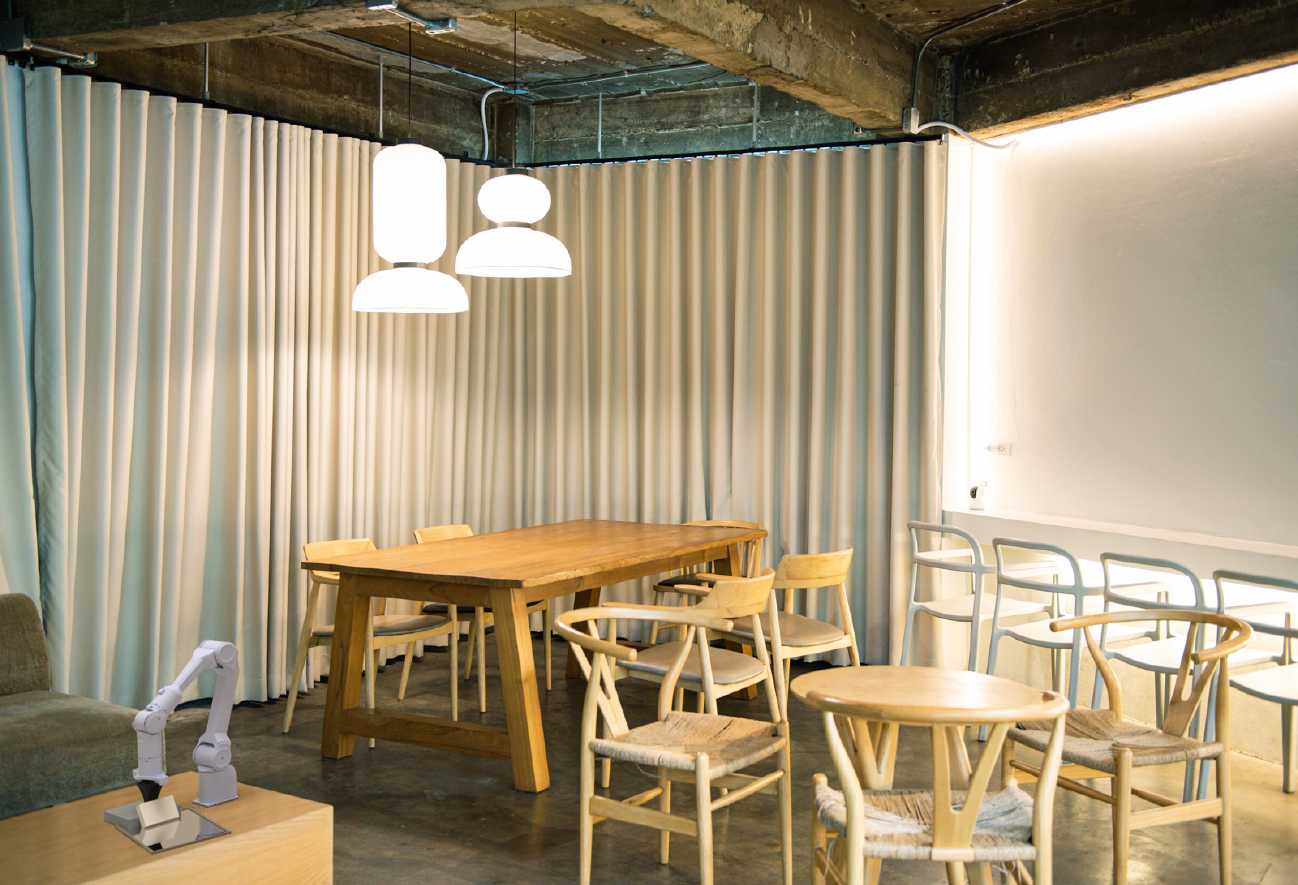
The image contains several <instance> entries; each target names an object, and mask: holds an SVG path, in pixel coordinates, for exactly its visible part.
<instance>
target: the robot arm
mask: <svg viewBox="0 0 1298 885" xmlns="http://www.w3.org/2000/svg"><path fill="white" fill-rule="evenodd" d="M239 652H240V651H239V649H238V647H236V646H235V644H234V643H233V642H232V641H231V642H230V641H222V640H221V641H219V640H213V639H205V640H204V641H202V642H201V643H200V644H199V646H198V647H197V648H196V649H194V651H193V654H192V657H191V659H190V660H189V661H188V663H186V665H185V667H184V668H183V669H182V671H181V672H180V673H179V675H178V676H177V677H176V678H175V680H174V682H173V683H172V684H170V685H166V686H164V687H163V688H160V689H159V690H158V691H157V695H156V696H155V697H154V698H153V700H151V701H150V703H149V704H147V705H146V706H145V709H142V710H140V711H139V712H138V713H137V714H136V715H135V717H134V720H133V722H132V723H131V725H132V728H133V729H134V731H135V732H136V738H137V766H138V767H137V768H134V769H132V776H133V778H134V780H137V781H138V782H136V786H137V788H138V790H139V791H140V794H141V796H142V799H143V800H144V803H146V802H149V801H153V800H157V799H158V798H160V795H161V794H160V793H161V790H162V788H163V786H165V785H169V776H168V775H166V773H165V772H164V770H163V751H162V750H163V749H162V748H163V746H162V744H163V742H162V731H163V730H164V729H165V727H166V725H167V719H168V718H169V716H170V715H171V713H173V711H174V710H175V709H176V707H177V706H178V705H179V703H181V701H182V700H183V692H184V691H185V690H186V689H187V688H188V687H189V686H190V685H191V684H192V683H193V682H194V681H195V679H196V678H197V677H198V676H200V675H201V673H202V672H203V671H205V670H210V669H212V670H213V671H214V672H215V673H216V675H217V678H216V682H215V687H214V692H213V697H212V702H211V706H210V711H209V715H208V721H207V725H206V729H205V730H206V731H205V733H203V734H202V735H201V736H200V737H199V739H198V742H197V744H196V746H195V748H194V750H193V751H192V761H193V763H194V764H196V766H197V770H198V771H197V772H198V774H197V775H198V798H196V799H193V800H191V801H192V803H195V804H197V805H200V806H204V807H211V806H214V805H215V804H216V805H218V804H221V803H225V802H228V801H231V800H236V799H238V798H239V797H240V796H239V795H238V783H237V780H238V779H237V778H238V777H237V776H238V775H237V771H236V768H235V767H234V766H233V764H230V763H231V760H232V751H231V746H232V741H231V740H230V738H229V736H228V729H229V724H230V719H231V714H232V709H233V705H234V699H235V695H236V690H237V685H238V682H239V675H240V664H239V659H238V657H239ZM139 780H141V781H139Z"/></svg>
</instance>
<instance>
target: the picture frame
mask: <svg viewBox="0 0 1298 885" xmlns="http://www.w3.org/2000/svg"><path fill="white" fill-rule="evenodd" d="M113 825H114V824H113ZM114 829H115V830H117V831H118V832H120V833H121V834H122V835H124V836H125V837H127V838H128V839H130V840H131V841H132V842H133V843H135V844H136V843H137V845H138V846H139V847H140V848H142V849H144V850H145V851H146V852H147V853H149V854H150V855H155V854H156V855H157V854H160V853H165V852H167V851H171V850H175V849H179V848H182V847H183V848H184V847H186V846H190V845H193V844H198V843H201V842H205V841H209V840H212V839H216V838H220V837H224V836H227V834H228V835H232V832H233V831H232V830H230V829H228V828H226V827H225V826H223V825H221V824H220V823H218V822H216V821H215V820H213V819H212V818H209V817H208V816H206V815H205V814H203V813H201V812H199V810H196V809H194V808H193V807H191V806H188V807H184V808H181V813H180V814H179V817H178V818H176V819H173V820H169V821H166V822H163V823H159V824H156V825H153V826H149V827H146V828H142V826H141V825H140V826H136V827H133V828H130V829H129V828H126V827H123V826H121V825H120V824H118V825H114Z"/></svg>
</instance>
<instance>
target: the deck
mask: <svg viewBox="0 0 1298 885" xmlns="http://www.w3.org/2000/svg"><path fill="white" fill-rule="evenodd" d="M160 798H161V797H158V799H160ZM142 803H144V799H143V800H139V801H136V802H133V803H129V804H125V805H122V806H119V807H115V808H110V809H107V810H104V811H103V817H104V821H105V822H106V823H110V824H113V825H118V824H120V825H121V826H123V827H126V828H129V829H130V828H133V827H136V826H140V825H141V823H140V819H139V816H138V813H137V809H136V807H137V806H138V805H139V804H142ZM175 804H176V807H177V810H178V814H180V813H181V809H182V805H181V804H178V803H176V802H175Z"/></svg>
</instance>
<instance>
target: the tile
mask: <svg viewBox="0 0 1298 885" xmlns="http://www.w3.org/2000/svg"><path fill="white" fill-rule="evenodd" d="M159 798H160V799H157V800H153V801H149V802H146V803H142V804H139V805H138V806H137V807H136V809H137V813H138V816H139V819H140V823H141V826H142V828H146V827H149V826H153V825H156V824H159V823H163V822H166V821H169V820H173V819H176V818H178V817H179V814H178V810H177V807H176V804H177V803H176V801H175V798H174V795H173V794H171V795H167V796H164V797H159ZM175 803H176V804H175Z"/></svg>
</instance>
